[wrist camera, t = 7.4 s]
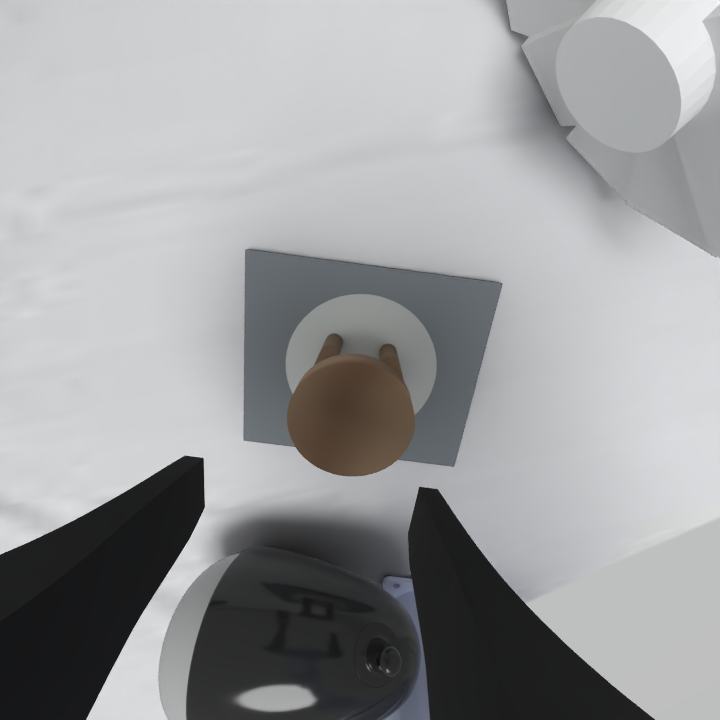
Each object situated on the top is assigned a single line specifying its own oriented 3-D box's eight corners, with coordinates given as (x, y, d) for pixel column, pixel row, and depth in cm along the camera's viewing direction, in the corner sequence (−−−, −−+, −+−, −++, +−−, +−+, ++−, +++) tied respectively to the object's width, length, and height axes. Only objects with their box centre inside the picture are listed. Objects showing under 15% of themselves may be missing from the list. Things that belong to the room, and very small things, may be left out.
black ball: (170, 532, 21) (413, 540, 18) (244, 553, 29) (419, 561, 27) (82, 782, 15) (424, 848, 12) (206, 721, 23) (428, 753, 21)
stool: (411, 336, 19) (429, 376, 13) (391, 419, 21) (399, 485, 15) (317, 318, 19) (294, 351, 13) (305, 404, 21) (280, 464, 15)
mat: (498, 282, 19) (503, 283, 18) (451, 461, 23) (454, 467, 22) (249, 249, 18) (244, 249, 18) (246, 435, 22) (242, 441, 22)
